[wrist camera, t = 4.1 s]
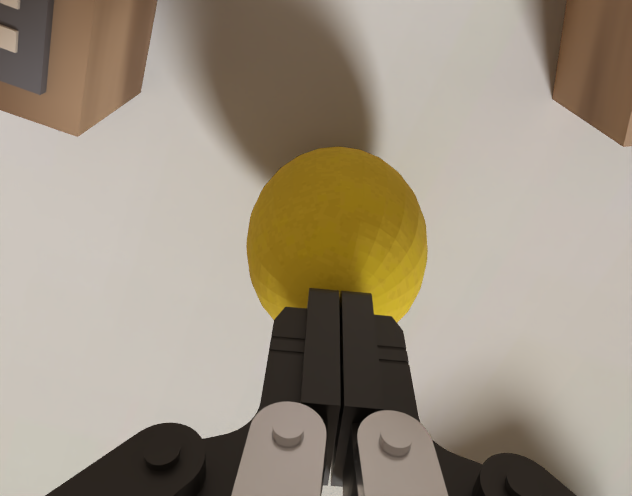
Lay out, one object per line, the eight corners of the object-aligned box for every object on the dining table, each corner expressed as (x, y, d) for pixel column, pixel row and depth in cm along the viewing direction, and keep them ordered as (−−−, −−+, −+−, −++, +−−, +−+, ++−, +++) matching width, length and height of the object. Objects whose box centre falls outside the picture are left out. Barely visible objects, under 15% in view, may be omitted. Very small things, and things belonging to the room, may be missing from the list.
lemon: (242, 217, 20) (193, 356, 13) (302, 89, 17) (280, 180, 10) (364, 271, 21) (378, 426, 14) (438, 158, 18) (499, 282, 11)
